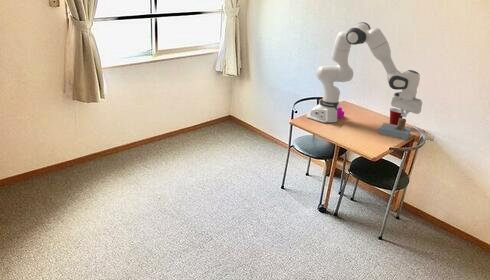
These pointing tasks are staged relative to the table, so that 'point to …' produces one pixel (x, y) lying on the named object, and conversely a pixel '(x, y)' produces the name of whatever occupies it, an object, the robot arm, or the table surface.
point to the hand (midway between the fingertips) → (403, 116)
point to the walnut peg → (401, 124)
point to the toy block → (340, 113)
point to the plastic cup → (395, 116)
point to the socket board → (394, 131)
